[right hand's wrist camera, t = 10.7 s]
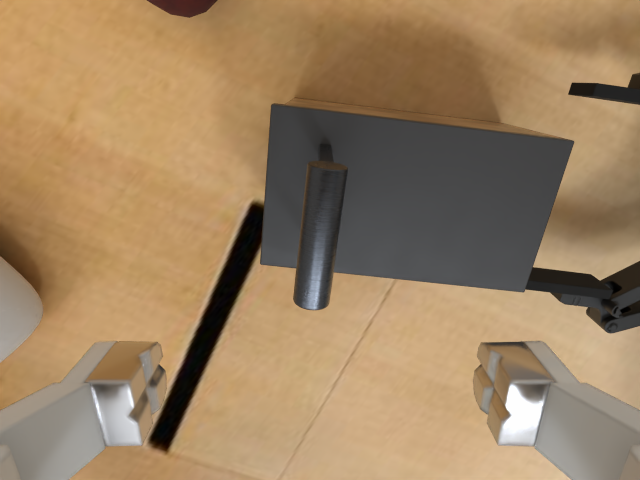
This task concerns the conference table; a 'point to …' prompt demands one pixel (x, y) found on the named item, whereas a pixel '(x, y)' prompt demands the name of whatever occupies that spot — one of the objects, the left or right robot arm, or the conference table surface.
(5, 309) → the grey rounded casing
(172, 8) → the potato
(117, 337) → the conference table surface
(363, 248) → the lid
